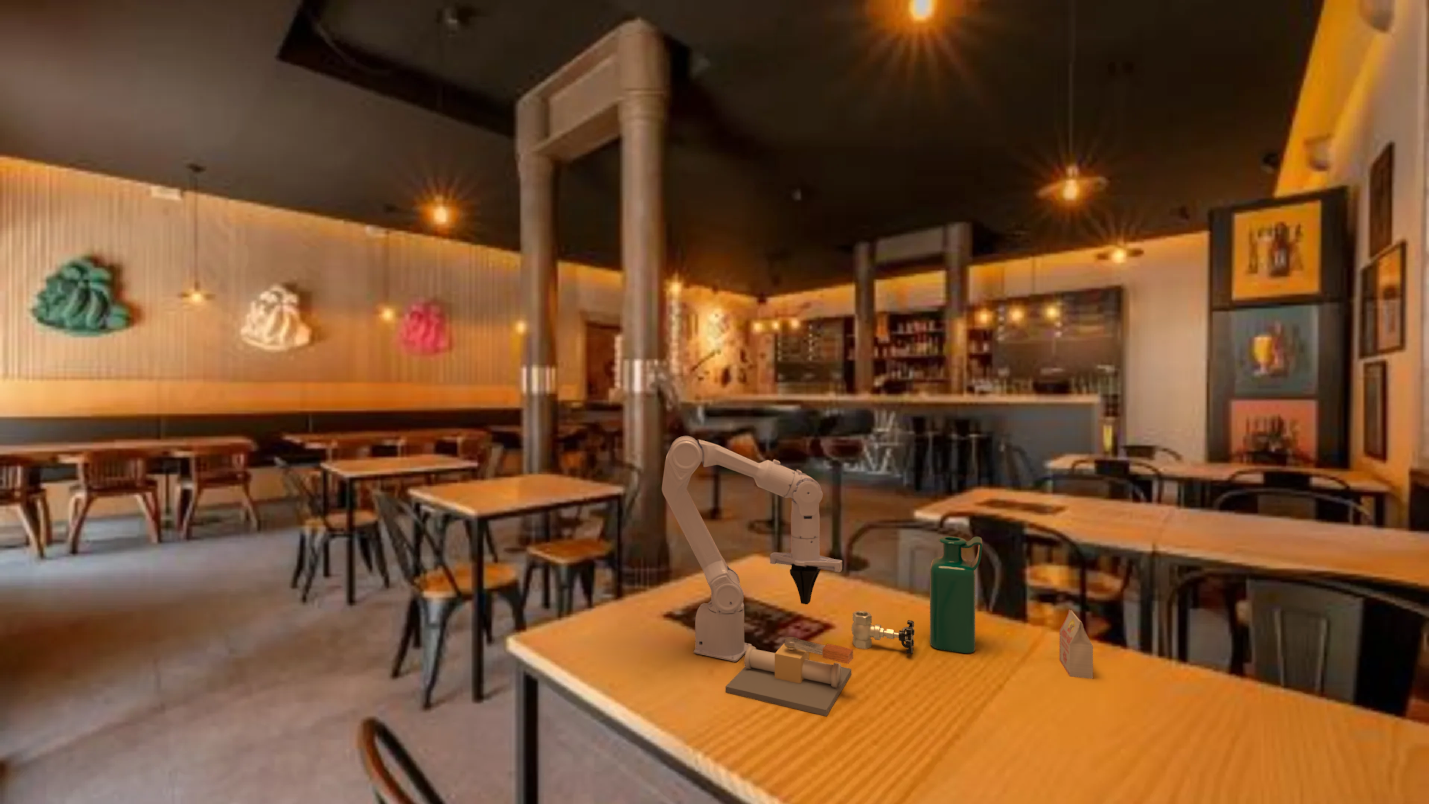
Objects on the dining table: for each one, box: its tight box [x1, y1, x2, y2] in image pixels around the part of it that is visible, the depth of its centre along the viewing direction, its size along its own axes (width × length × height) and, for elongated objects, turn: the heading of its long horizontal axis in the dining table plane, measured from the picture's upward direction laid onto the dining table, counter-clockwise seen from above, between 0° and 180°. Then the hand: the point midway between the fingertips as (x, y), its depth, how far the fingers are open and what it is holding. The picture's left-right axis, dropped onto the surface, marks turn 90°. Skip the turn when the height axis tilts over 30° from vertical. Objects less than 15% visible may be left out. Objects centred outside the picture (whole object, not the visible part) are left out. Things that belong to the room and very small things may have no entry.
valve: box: [851, 610, 915, 655], centre depth 124 cm, size 7×7×12 cm
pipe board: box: [725, 643, 852, 717], centre depth 109 cm, size 18×16×5 cm
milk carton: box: [1059, 609, 1094, 680], centre depth 114 cm, size 4×7×10 cm, turn 165°
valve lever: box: [784, 636, 854, 665], centre depth 108 cm, size 12×3×2 cm, turn 57°
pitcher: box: [929, 536, 983, 654], centre depth 125 cm, size 10×8×22 cm
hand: (805, 602), depth 124 cm, fingers closed
